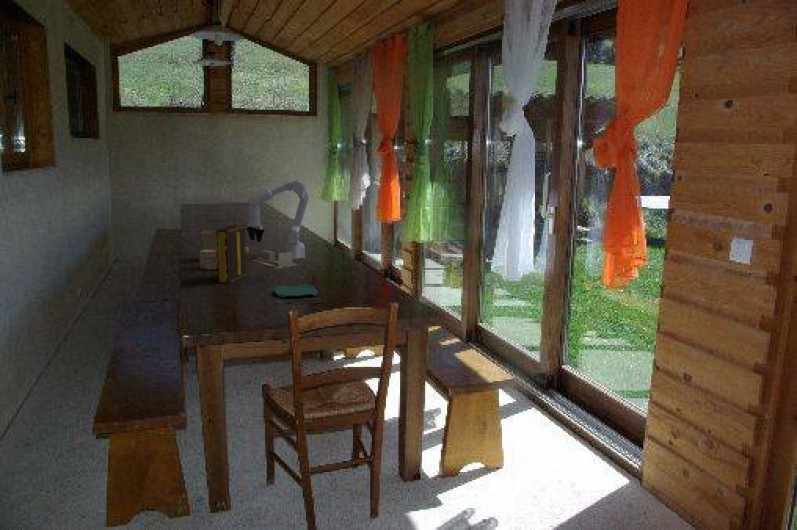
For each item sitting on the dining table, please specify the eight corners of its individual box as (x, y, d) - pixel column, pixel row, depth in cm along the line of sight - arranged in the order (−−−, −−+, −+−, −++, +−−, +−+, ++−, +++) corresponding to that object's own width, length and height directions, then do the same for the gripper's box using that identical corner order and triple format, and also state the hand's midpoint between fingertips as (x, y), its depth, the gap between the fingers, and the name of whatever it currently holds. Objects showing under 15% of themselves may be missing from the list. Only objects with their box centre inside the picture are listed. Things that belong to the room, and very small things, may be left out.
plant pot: (225, 263, 347) (224, 234, 344) (198, 262, 347) (196, 233, 344) (233, 258, 361) (232, 230, 358) (207, 257, 362) (205, 229, 359)
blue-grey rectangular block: (266, 258, 357) (265, 249, 356) (274, 261, 350) (274, 252, 349) (260, 259, 355) (260, 250, 354) (269, 261, 347) (268, 252, 346)
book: (231, 283, 298) (229, 230, 293) (214, 282, 299) (212, 229, 295) (251, 274, 319) (250, 224, 314) (235, 273, 321) (233, 223, 316)
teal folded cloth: (315, 287, 292) (315, 282, 292) (327, 304, 264) (327, 299, 264) (271, 290, 287) (270, 285, 286) (278, 308, 259) (278, 302, 258)
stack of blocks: (199, 269, 330) (198, 245, 328) (204, 266, 337) (203, 243, 334) (239, 270, 328) (239, 246, 326) (243, 268, 335) (243, 244, 332)
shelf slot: (273, 258, 361) (273, 245, 360) (297, 265, 342) (297, 251, 340) (250, 261, 352) (250, 247, 351) (274, 268, 333) (273, 254, 331)
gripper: (242, 216, 357) (243, 240, 360) (254, 218, 347) (255, 243, 349) (253, 215, 362) (254, 238, 364) (266, 217, 351) (267, 242, 354)
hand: (255, 241), depth 357 cm, fingers open, 7 cm apart
